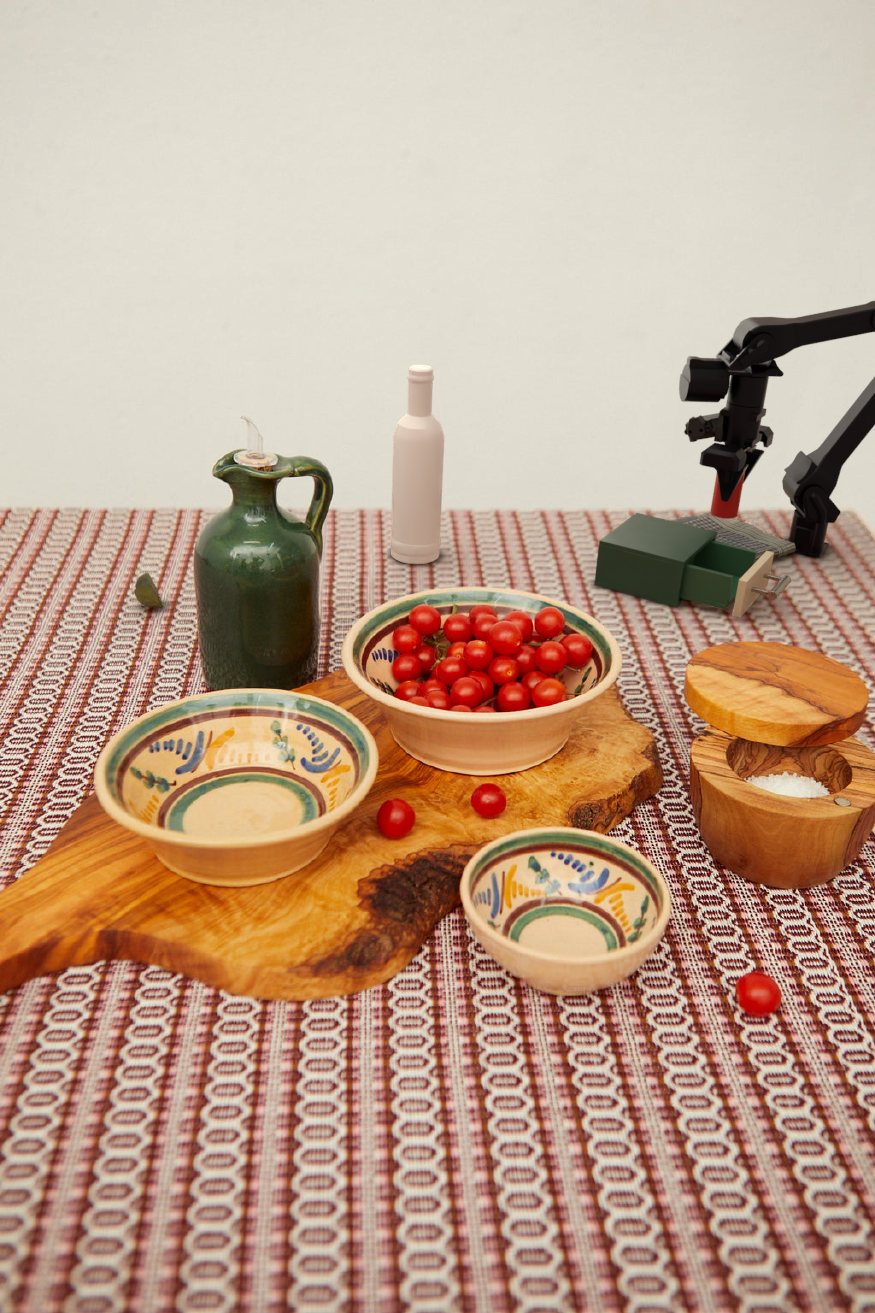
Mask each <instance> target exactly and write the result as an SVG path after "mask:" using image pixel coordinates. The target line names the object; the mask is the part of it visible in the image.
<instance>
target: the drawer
mask: <svg viewBox="0 0 875 1313" xmlns="http://www.w3.org/2000/svg"><path fill="white" fill-rule="evenodd" d="M756 555H757V551H755V550H751V549H747V548H743V547H739V546H734V545H730V544H726V543H722V542H718V541H714V540H711V541H710V542H709V543H708V544H707V545H706V546H705V547H704V548H703V549H702V550H701V551H699V552H698V553H697V554H696V555H695V556H694V557H693V558H692V559H691V560H690V561H688V562H687V563H686V564H685V568H684V574H683V580H682V587H681V593H680V598H682V599H685V601H686V600H687V601H690V602H694V603H698V604H701V605H705V606H709V607H712V608H715V609H719V610H724V611H726V610H728V609H729V607H730V606H731V605H732V604H733V609H732V613H731V614H732V615H731V616H733V617H736V618H741V617H742V616H743V615H745V613H746V612H747V610H748V609H750V607H751V606H752V605H753V604H754V603H755V601H756V600H758V598H759V597H760V596H761V595H763V596H767V598H768V599H769V600H770V601H777V599H778V598H779V596H781V594H783V592H784V590H785V589H786V588H787V587H788V586H789V585H790V583H791V582H792V578H791V576H789V575H786V574H785V575H783V576H778V575H775V574H771V570H772V566H773V561H774V559H773V556H774V552H770V551H766V552H765V553H764V554H763V555H762V556H761V557H760V558H759V559H758V560H757V561H756V562H755V560H756ZM769 580H770V581H774V582H776V583H775V584H774V586H773V587H772V588H771V589H770V590H768V589H767V588H768V585H769Z"/></svg>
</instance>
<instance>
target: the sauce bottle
mask: <svg viewBox="0 0 875 1313" xmlns="http://www.w3.org/2000/svg"><path fill="white" fill-rule="evenodd" d="M744 475H745V472H744V474H743V476H742V478H741V479H740V481H739V483H738V485H737V487H736V488H735V490H734V492H733V494H732V495H731V497H730V499H729V500H728V501H727V502H726V501H722V500H721V495H720V488H719V480H718V475H717V473H716V476H715V481H714V486H713V492H712V499H711V505H710V511H709V512H710V513H711V514H712V515H713V516H716V517H719V518H725V519H730V518H735V519H736V518H737V517H738V515H739V510H740V509H739V508H740V502H741V497H742V491H743V487H744V484H743V481H744Z"/></svg>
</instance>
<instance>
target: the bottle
mask: <svg viewBox="0 0 875 1313" xmlns="http://www.w3.org/2000/svg"><path fill="white" fill-rule="evenodd" d="M406 379H407V412H406V413H405V415H403V416H402V417H401V418H400V419H399V420H398V421H397V423H396V425H395V429H394V431H393V435H392V467H391V468H392V469H391V470H392V471H391V473H392V474H391V475H392V476H391V521H390V522H391V524H390V536H389V537H390V538H389V543H390V544H389V546H390V555H391V557H392V558H393V559H394V560H396V561H397V562H400V563H402V564H408V565H425V564H430V563H433V562H434V561H436V560H438V559H439V557H440V549H441V545H442V544H441V542H442V541H441V540H442V539H441V527H442V524H441V523H442V505H443V504H442V501H443V480H444V478H443V477H444V456H445V455H444V454H445V434H444V431H443V427H442V424H441V422H440V421H439V420H438V419H437V418H436V417H435V415H434V414H433V412H432V410H433V408H432V407H433V384H434V382H433V381H434V379H435V376H434V369H433V367H432V366H430V365H428V364H421V363H420V364H419V363H418V364H412V365H410V366H409V367H408V372H407V376H406Z"/></svg>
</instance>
